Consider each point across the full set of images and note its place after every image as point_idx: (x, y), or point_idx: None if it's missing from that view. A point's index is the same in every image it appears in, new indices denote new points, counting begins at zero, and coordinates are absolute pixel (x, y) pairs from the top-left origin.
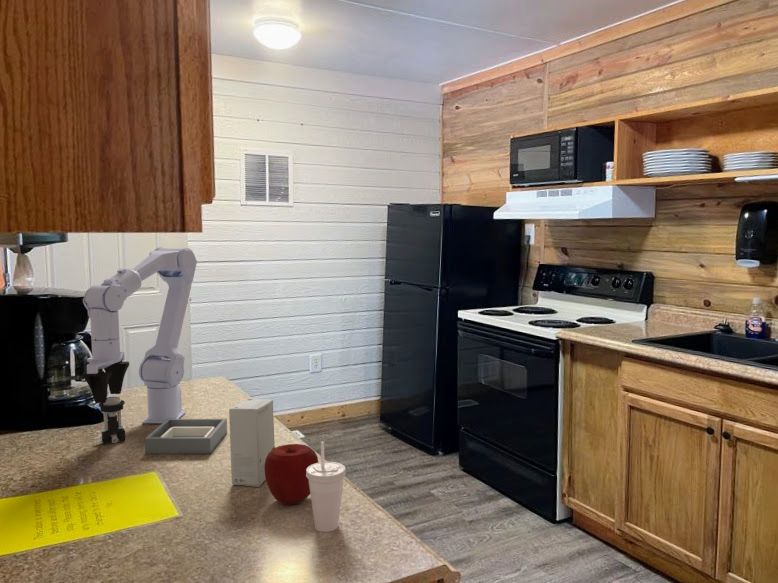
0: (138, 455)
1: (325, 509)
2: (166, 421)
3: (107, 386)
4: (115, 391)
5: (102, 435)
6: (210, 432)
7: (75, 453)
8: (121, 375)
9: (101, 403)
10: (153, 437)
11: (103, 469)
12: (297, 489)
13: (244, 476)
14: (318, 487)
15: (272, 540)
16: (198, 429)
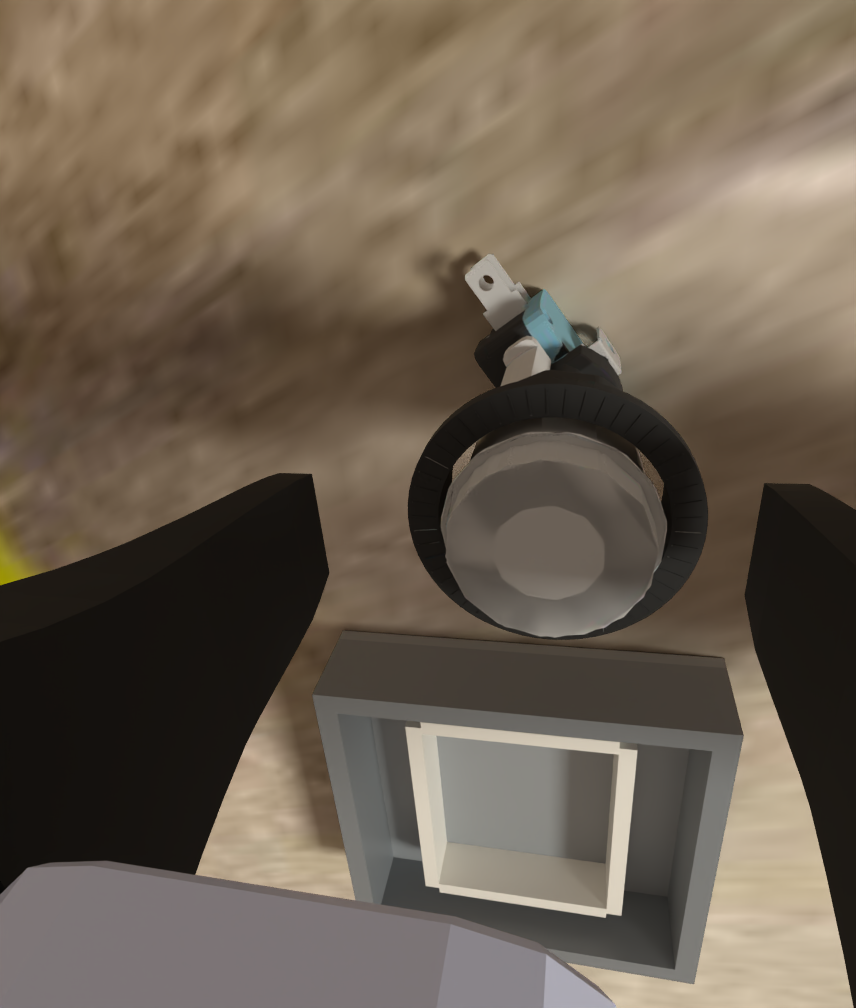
0: (327, 602)
1: None
2: (670, 739)
3: (230, 757)
4: (762, 570)
5: (496, 334)
6: (519, 904)
7: (299, 202)
8: (830, 877)
9: (530, 412)
10: (336, 730)
11: (119, 506)
12: None
13: None
14: None
15: None
16: (610, 848)
